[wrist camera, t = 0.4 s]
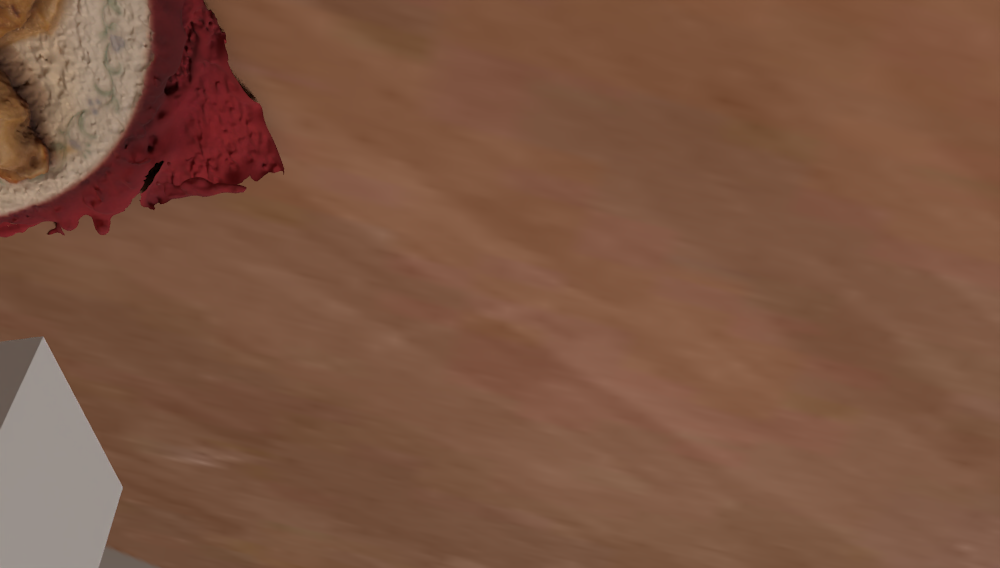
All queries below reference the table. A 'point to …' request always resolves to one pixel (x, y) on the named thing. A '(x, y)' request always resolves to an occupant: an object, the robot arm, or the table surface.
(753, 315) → the table surface
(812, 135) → the table surface
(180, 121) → the plate with food
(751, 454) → the table surface
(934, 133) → the table surface
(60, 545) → the robot arm
